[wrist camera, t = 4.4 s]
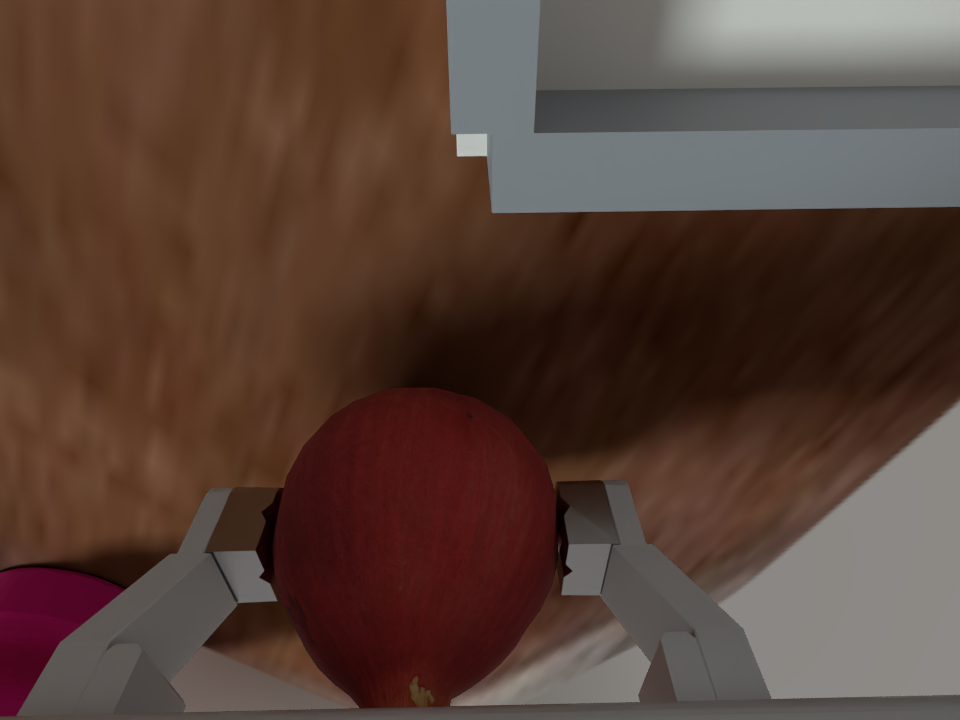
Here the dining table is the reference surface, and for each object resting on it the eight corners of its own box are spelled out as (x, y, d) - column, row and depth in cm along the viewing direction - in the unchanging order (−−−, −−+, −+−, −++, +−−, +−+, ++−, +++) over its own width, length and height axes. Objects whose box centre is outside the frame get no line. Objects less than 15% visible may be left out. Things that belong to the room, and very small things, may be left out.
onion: (450, 504, 17) (440, 836, 11) (280, 422, 15) (137, 780, 8) (582, 391, 14) (674, 746, 8) (399, 271, 12) (320, 628, 6)
